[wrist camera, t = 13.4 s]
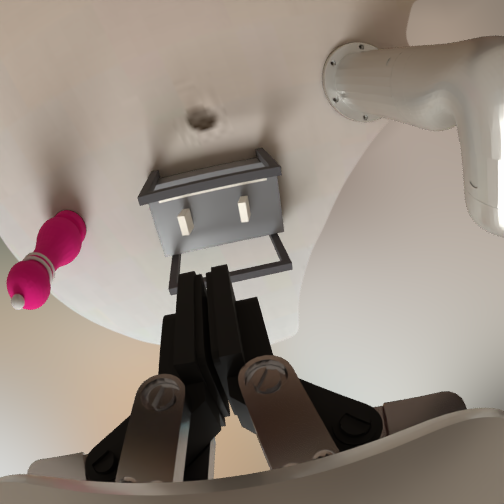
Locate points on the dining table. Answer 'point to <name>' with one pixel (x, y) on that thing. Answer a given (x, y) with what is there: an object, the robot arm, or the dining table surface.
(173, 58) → the dining table surface
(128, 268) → the dining table surface
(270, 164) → the dark grey open frame
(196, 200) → the breaker panel
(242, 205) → the cream cuboid
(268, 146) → the dining table surface
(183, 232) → the paddle
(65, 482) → the robot arm
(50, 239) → the pepper mill
